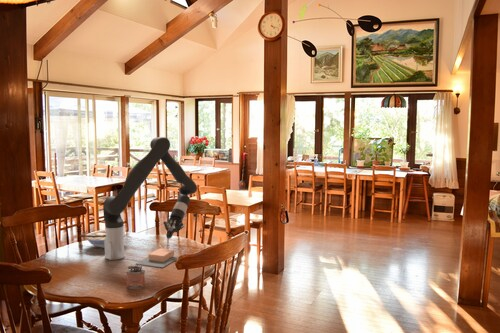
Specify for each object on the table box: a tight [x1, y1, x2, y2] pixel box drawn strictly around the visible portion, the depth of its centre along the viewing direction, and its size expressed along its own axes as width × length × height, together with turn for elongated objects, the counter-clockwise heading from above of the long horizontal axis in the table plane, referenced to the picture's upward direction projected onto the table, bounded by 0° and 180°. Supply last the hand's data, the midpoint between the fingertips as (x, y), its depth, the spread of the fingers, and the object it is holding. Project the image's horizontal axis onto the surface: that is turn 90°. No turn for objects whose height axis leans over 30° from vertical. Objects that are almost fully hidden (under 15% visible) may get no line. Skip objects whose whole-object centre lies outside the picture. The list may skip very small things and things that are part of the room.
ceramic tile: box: [148, 247, 175, 262], centre depth 216 cm, size 3×9×11 cm
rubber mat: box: [135, 256, 179, 269], centre depth 213 cm, size 16×16×1 cm
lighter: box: [125, 264, 146, 290], centre depth 178 cm, size 8×3×10 cm, turn 92°
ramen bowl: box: [78, 229, 127, 249], centre depth 239 cm, size 25×23×8 cm
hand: (168, 237), depth 222 cm, fingers closed
